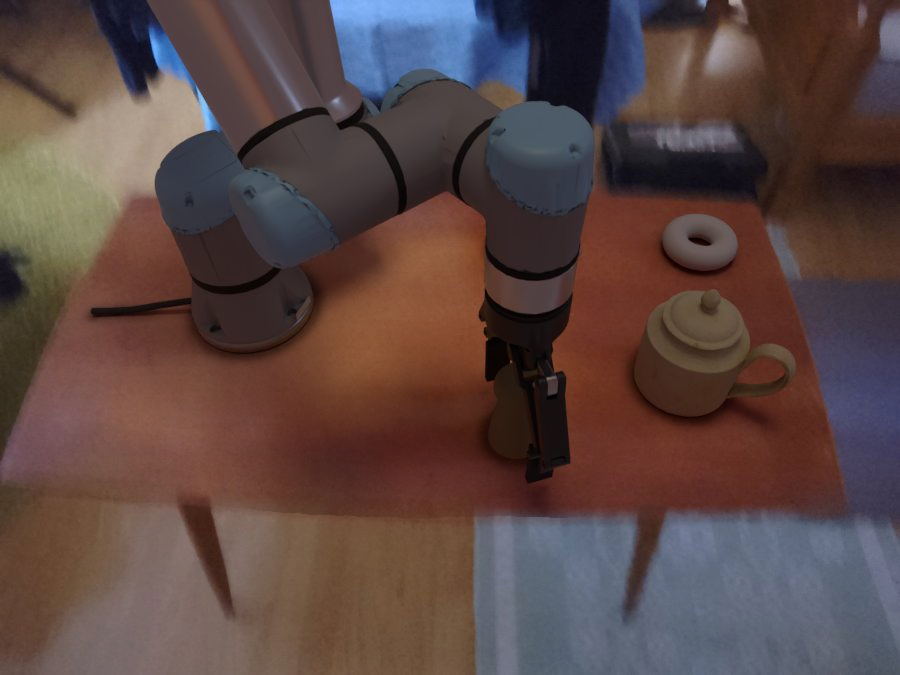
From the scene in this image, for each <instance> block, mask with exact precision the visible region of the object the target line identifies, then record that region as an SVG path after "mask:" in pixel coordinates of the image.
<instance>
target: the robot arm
mask: <svg viewBox="0 0 900 675" xmlns="http://www.w3.org/2000/svg"><path fill="white" fill-rule="evenodd" d="M146 3H147V4H148V6H149V7H150V10H151V11H152V13H153V14H154V16H155V17H156V20H157V21H158V23H159V25H160V27H161V28H162V30H163V32H164V33H165V35H166V37H167V38H168V40H169V42H170V44H171V45H172V46H173V48H174V51H175V52H176V54H177V55H178V57H179V60H181V62H182V64H183V66H184V67H185V69H186V71H187V73H188V74H189V76H190V78H191V79H192V81H193V83H194V84H195V87H196V88H197V90H198V91H199V93H200V95H201V97H202V98H203V100H204V102H205V103H206V105H207V107H208V109H209V110H210V112H211V114H212V116H213V117H214V119H215V121H216V122H217V124H218V126H219V127H220V129H221V130H220V131H218V130H216V129H210V130H205V131H203V132H199V133H196V134H194V135H192V136H190V137H188V138H186V139H184V140H183V141H181V142H179V143H178V144H177V145H175V146H174V147H173V148H172V149H170V151H168V153H167V154H165V156H164V157H163V159H162V160H161V162H160V164H159V168H157V170H156V173H155V175H154V192H155V196H156V199H157V202H158V204H159V208H160V212H161V216H162V219H163V221H164V223H165V224H166V225H167V227H168V228H169V230H170V232H171V234H172V237H173V239H174V241H175V243H176V246H177V248H178V250H179V253H180V255H181V257H182V259H183V262H184V264H185V266H186V269H187V271H188V273H189V275H190V278H191V290H190V291H191V294H190V295H191V296H190V297H184V298H177V299H176V298H175V299H170V300H169V299H168V300H162V301H156V302H149V303H144V304H137V305H131V306H119V307H117V306H116V307H92V308H91V309H90V314H91V315H92V316H96V315H97V316H99V315H101V316H102V315H104V316H105V315H125V314H126V315H127V314H134V313H135V314H136V313H142V312H148V311H153V310H161V309H167V308H175V307H181V306H188V305H190V310H191V317H192V320H193V323H194V325H195V327H196V329H197V331H198V333H199V334H200V336H201V337H202V339H203V340H205V341H206V343H208V344H210V345H211V346H213V347H215V348H216V349H220V350H222V351H226V352H230V353H231V352H232V353H240V354H242V353H244V354H245V353H255V352H261V351H264V350H268V349H271V348H275V347H276V346H279V345H280V344H283V343H285V342H286V341H288V340H289V339H291V338H292V337H294V336H295V335H296V334H297V333H298V332H299V331H301V330H302V328H303V327H304V326H305V325H306V323H308V320H309V319H310V317H311V315H312V312H313V309H314V302H315V301H314V300H315V299H314V293H313V288H312V285H311V282H310V279H309V278H308V276H307V275H306V273H305V272H304V271H303V269H302V268H301V267H300V265H301V264H302V263H305V262H308V261H309V260H312V259H314V258H316V257H318V256H322V255H323V254H324V253H328V252H331V253H333V252H334V251H336V250H337V249H339V247H340V246H341V245H343V244H344V243H346V242H349V241H351V240H352V239H354V238H357V237H358V236H360V235H362V234H364V233H366V232H368V231H370V230H372V229H374V228H376V227H378V226H379V225H381V224H383V223H385V222H387V221H389V220H391V219H393V218H395V217H398V216H400V215H402V214H404V213H406V212H408V211H410V210H412V209H415V208H416V207H418V206H420V205H422V204H424V203H426V202H427V201H430V200H432V199H433V198H436V197H437V196H439V195H441V194H443V193H446V192H447V193H449V194H451V195H452V196H453V197H455V198H456V199H458V200H459V201H461V202H462V203H463V204H464V205H466V206H468V207H470V208H471V209H473V210H475V211H476V212H477V213H478V214H479V215H481V216H482V217H483V219H484V221H485V242H484V258H483V259H484V260H483V262H484V264H483V282H484V296H483V297H484V300H483V301H482V304H481V306H480V308H479V310H478V319H479V321H480V323H485V326H484V327H483V335H484V337H485V338H486V339H487V340H485V351H484V352H485V353H484V354H485V357H484V379H485V381H486V383H489V382H494V380H495V377H496V375H497V373H498V372H499V370H500V369H502V368H503V367H504V366H506V365H507V364H510V363H513V369H514V374H515V379H516V384H517V385H518V386H519V387H520V388H522V389H523V394H524V399H525V405H526V410H527V416H528V421H529V427H530V432H531V438H532V443H531V444H529V447H528V451H526V453H527V457H526V464H525V473H524V480H525V482H526V484H527V485H529V484H532V483H536V482H539V481H543V480H546V479H547V480H548V479H550V478H553V476H554V470H555V469H556V468H557V469H558V468H560V467H564V466H568V465H570V464H571V463H572V462H571V448H570V438H569V437H570V436H569V425H568V414H567V412H568V411H567V401H566V390H567V375H566V373H565V372H564V371H563V370H559V371H555V368H554V362H553V356H552V355H553V353H554V347H553V344H554V342H555V341H556V340H557V339H558V338H559V337H560V336H561V335H562V334H563V333H564V331H565V330H566V329H567V327H568V324H569V321H570V315H571V309H572V305H573V304H572V303H573V299H574V298H573V297H574V287H575V282H576V274H577V268H578V262H579V257H580V256H582V253H583V250H582V248H581V238H582V234H583V229H584V224H585V219H586V214H587V210H588V206H589V201H590V196H591V193H592V191H593V188H594V180H595V177H594V160H595V147H596V140H595V133H594V130H593V127H592V126H591V124H590V123H589V121H588V120H587V119H586V118H585V117H584V116H583V115H582V114H581V113H580V112H578V110H576V109H573V108H572V107H570V106H567V105H557V106H556V105H552V104H551V103H550V102H549V101H545V100H532V101H531V100H530V101H524V102H521V103H516V104H513V105H511V106H508V107H507V108H505V109H503V108H501V107H500V106H498V105H496V104H495V103H493V102H491V101H490V100H488V98H485V97H484V96H482V95H481V94H479V93H478V92H476V91H475V89H473V88H472V87H471V86H469V85H468V84H467V83H465V82H463V81H459V80H457V79H456V78H453V77H452V78H451V77H450V76H447V75H446V74H444V73H442V72H441V71H439V70H436V69H432V68H417V69H414V70H411V71H409V72H406V73H405V74H403V75H402V76H401V77H399V80H398V82H397V83H395V84H394V86H393V87H390V88H389V89H388V90H387V92H386V94H385V95H384V98H383V100H382V102H381V107H380V110H379V109H378V107H377V106H376V105H375V104H374V102H372V101H371V100H370V99H368V98H367V97H365V96H364V95H363V94H362V91H361V89H360V88H359V87H358V86H357V85H355V84H353V83H352V82H350V81H349V80H347V79H346V75H345V71H344V66H343V65H344V64H343V62H342V56H341V51H340V47H339V46H340V44H339V41H338V36H337V31H336V26H335V21H334V15H333V11H332V6H331V5H332V4H331V0H146ZM536 369H537V372H538V374H537V375H533V376H529V377H525V378H524V375H523V371H524V372H528V371H533V370H536Z"/></svg>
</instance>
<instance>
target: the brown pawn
mask: <svg viewBox="0 0 900 675" xmlns="http://www.w3.org/2000/svg"><path fill="white" fill-rule="evenodd" d="M537 374H538V372H537V369H536V370H533V371H528V372H524V371H523V375H524V378H525V377H529V376H533V375H537ZM493 392H494V397H495V398H496V401H495V405H494V408H493V411H492V414H491V419H490V422H489V426H488V429H487V441H488V443H489V445H490V447H491V449H492V450H493V451H494V452H495V453H496V454H498V455H499V456H501V457H503V458H505V459H509V460H510V459H511V460H523V459H525V458H526V459H527V453H526V451H528V447H529V444H531V443H532V438H531V432H530V427H529V421H528V416H527V410H526V405H525V399H524V394H523V389H522V388H520V387H519V386H518V385H517V384H516V379H515V374H514V369H513V363H512V362H510V364H507V365H506V366H504V367H503V368H502V369H500V370H499V372H498V373H497V375H496V377H495V380H494V381H493Z"/></svg>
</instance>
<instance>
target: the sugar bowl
mask: <svg viewBox="0 0 900 675" xmlns="http://www.w3.org/2000/svg"><path fill="white" fill-rule="evenodd" d="M762 358H765V359H766V358H767V359H772V360H774V361H776V362H777V363H779V365H781V366H782V368H783V370H784V374H783V375H782V376H781V377H779V378H777V379H776V380H771V381H769V382H763V383H762V382H761V383H746V382H736V380H737V378H738V377H739V376H740V374H741V373H742V372H743V371H745V370H746V369H748V367H749V366H751V364H753V363H754V362H755V361H756V360H758V359H762ZM795 359H796V358H795V356H794V355H793V354H792V352H791V351H790V350H789V349H788V348H786V347H784V346H782V345H780V344H778V343H763V344H759V345H758V346H756V347H754V348H753V349H751V336H750V334H749V331H748V328H747V326H746V325H745V321H744V318H743V316H742V314H741V313H740V310H739V309H738V308H737V307H736V306H735V304H733V303H732V302H731V301H729V300H727V299H726V298H724V297H722V296H721V295H720V292H719V290H717V289H714V288H711V289H709V290H708V289H707V290H706V291H704V290H684V291H682V292H678V293H676V294H674V295H672V296H671V297H670V298H668V300H666V301H664V302H661V303H659V304H658V305H657V306H656V307H655V308H654V309H653V310H652V311H651V312H650V314H649V316H648V318H647V321H646V324H645V327H644V330H643V332H642V336H641V340H640V343H639V346H638V351H637V355H636V359H635V363H634V367H633V378H634V382H635V385H636V388H637V389H638V391H639V393H640V394H641V395H642V396H643V398H645V399H646V401H648V402H649V403H650V404H651V405H653V406H654V407H656V408H657V409H660V411H664V412H665V413H668V414H671V415H675V416H678V417H679V416H680V417H687V418H689V417H693V418H694V417H700V416H705V415H708V414H710V413H712V412H714V411H716V410H717V409H719V408H720V407H721V406H722V405H723V404H724V402H725V401H726V399H732V398H763V397H768V396H773V395H775V394H777V393H779V392H782V391H783V390H784V389H786V388H787V387H788V386H789V385H790V384H791V383H792V382H793V380H794V378H795V375H796V372H797V362H796V360H795Z"/></svg>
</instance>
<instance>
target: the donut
mask: <svg viewBox="0 0 900 675" xmlns="http://www.w3.org/2000/svg"><path fill="white" fill-rule="evenodd" d="M694 238H695V239H701V240H704V241H706V242H707V243H709V245H700V244H698V243H694V242H692V241H691V240H689V239H694ZM661 241H662V247H663V249H664V251H665V254H666V255H667V256H668V257H669V258H670V259H671V261H673V262H674V263H676V264H678V265H679V266H682V267H683V268H686V269H689V270H692V271H700V272H706V271H707V272H708V271H715V270H716V271H717V270H719V269H721V268H723V267H725V266H727V265H729V263H731V261H733V260H734V259H735V257H736V254H737V253H738V249H739V243H738V237H737V235H736V233H735V232H734V229H733V228H731V227H730V225H729V224H727V223H726V222H725V221H723V220H721V219H719V218H718V217H715V216H712V215H709V214H704V213H687V214H683V215H680V216H677V217H675V218H674V219H673V220H671V221H670V222H669V223H668V224H666V226H665V228H664V230H663V231H662V235H661Z"/></svg>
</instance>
